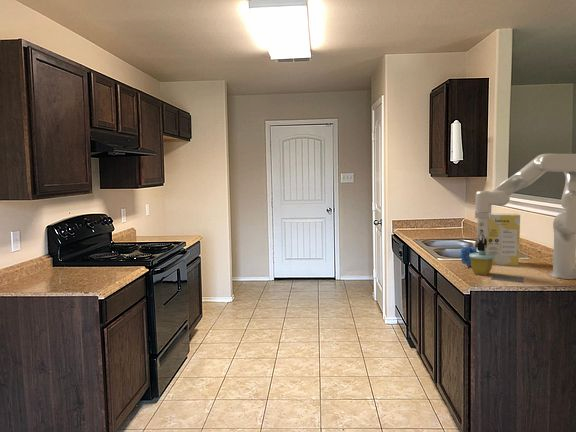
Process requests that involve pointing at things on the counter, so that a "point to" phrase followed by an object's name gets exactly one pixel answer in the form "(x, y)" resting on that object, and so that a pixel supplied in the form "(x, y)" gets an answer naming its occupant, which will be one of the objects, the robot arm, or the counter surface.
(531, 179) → the robot arm
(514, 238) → the pasta box
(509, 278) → the mat
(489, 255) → the lid
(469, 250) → the grapes
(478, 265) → the flower pot
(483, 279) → the counter surface
